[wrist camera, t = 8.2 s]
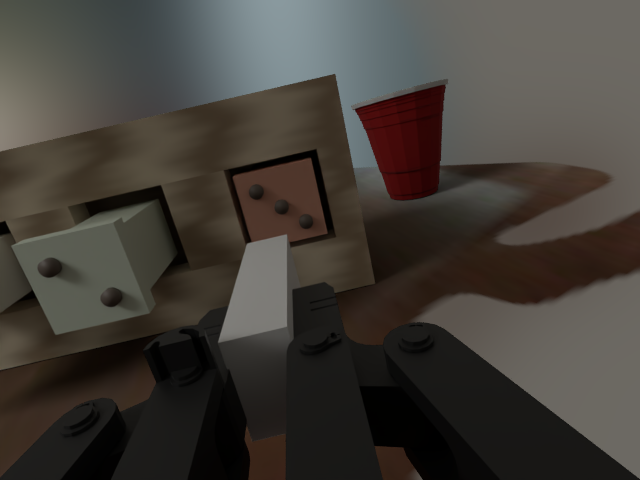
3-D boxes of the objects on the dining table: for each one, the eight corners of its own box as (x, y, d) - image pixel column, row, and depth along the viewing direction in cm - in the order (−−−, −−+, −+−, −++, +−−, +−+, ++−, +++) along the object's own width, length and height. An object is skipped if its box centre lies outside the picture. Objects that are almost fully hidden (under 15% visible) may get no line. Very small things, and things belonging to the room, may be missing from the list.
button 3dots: (253, 252, 26) (231, 178, 25) (262, 218, 34) (245, 160, 33) (328, 235, 26) (311, 159, 25) (319, 205, 34) (306, 146, 33)
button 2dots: (51, 339, 20) (5, 248, 19) (117, 273, 28) (89, 206, 27) (147, 316, 20) (109, 224, 19) (187, 258, 28) (162, 189, 27)
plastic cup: (414, 178, 56) (401, 87, 52) (479, 183, 46) (470, 72, 43) (350, 201, 51) (331, 104, 47) (408, 212, 42) (390, 92, 38)
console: (-39, 379, 28) (-157, 187, 24) (46, 308, 38) (-26, 164, 34) (375, 283, 28) (335, 73, 24) (353, 237, 38) (321, 83, 34)
